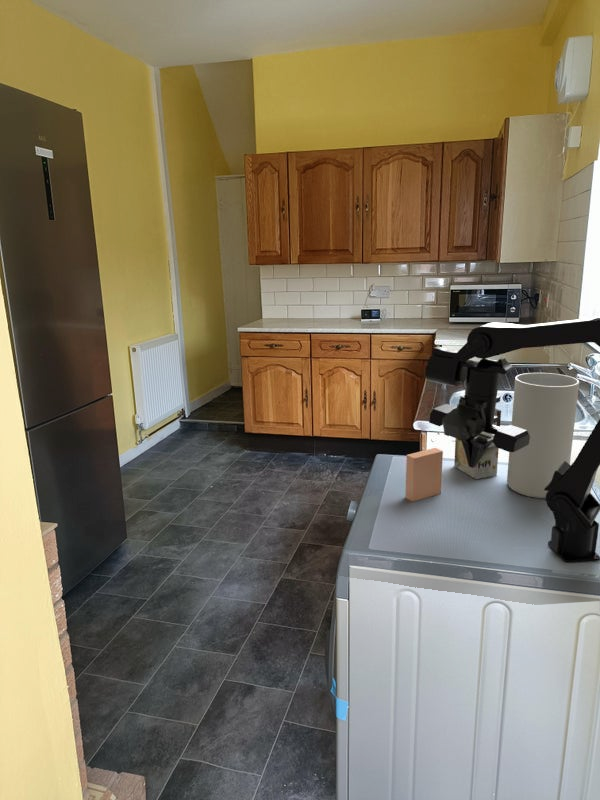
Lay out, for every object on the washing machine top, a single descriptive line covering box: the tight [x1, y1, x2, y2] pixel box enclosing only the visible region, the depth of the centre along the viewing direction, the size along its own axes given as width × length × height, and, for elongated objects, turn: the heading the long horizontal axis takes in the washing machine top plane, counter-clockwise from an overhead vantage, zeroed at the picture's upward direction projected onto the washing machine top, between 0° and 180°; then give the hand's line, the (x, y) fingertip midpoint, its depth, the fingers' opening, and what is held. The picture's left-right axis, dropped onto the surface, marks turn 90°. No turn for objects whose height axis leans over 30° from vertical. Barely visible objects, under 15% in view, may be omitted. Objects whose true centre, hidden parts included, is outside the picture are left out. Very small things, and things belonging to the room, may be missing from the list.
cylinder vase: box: [506, 372, 580, 499], centre depth 125 cm, size 12×12×25 cm
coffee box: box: [454, 404, 502, 480], centre depth 136 cm, size 9×6×16 cm
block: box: [404, 447, 444, 502], centre depth 125 cm, size 3×8×10 cm, turn 119°
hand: (472, 466), depth 111 cm, fingers closed
